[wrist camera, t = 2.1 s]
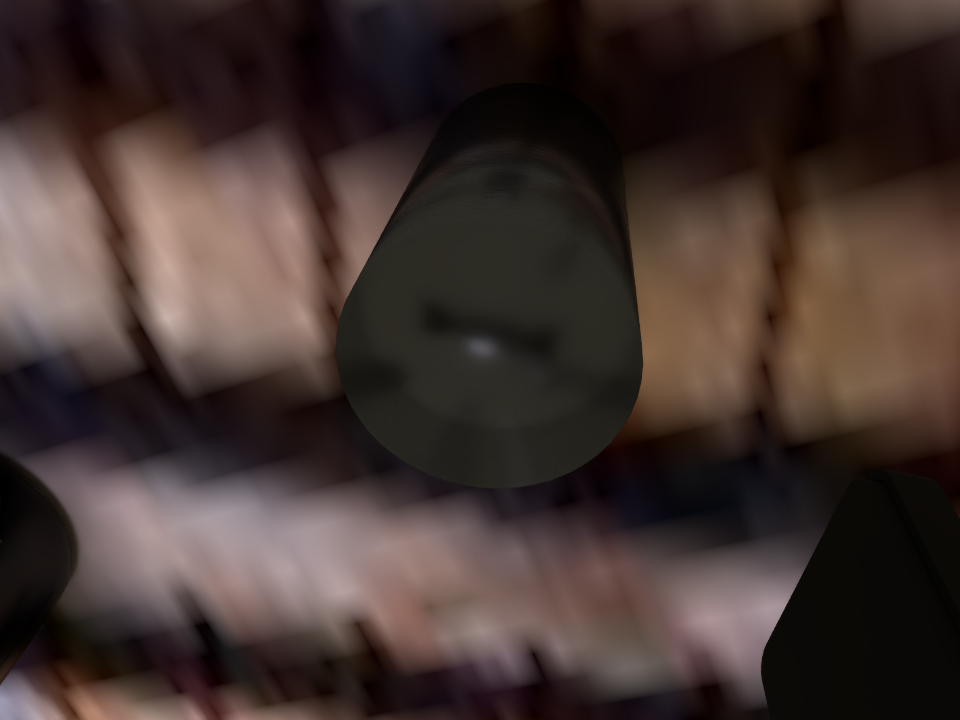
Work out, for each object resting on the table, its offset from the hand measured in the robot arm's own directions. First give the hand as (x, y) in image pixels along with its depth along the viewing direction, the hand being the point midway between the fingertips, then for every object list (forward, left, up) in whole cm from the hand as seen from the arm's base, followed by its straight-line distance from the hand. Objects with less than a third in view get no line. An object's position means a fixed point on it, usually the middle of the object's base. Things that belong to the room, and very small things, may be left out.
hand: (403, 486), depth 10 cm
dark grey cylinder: (-1, 0, -11) cm, 11 cm away
